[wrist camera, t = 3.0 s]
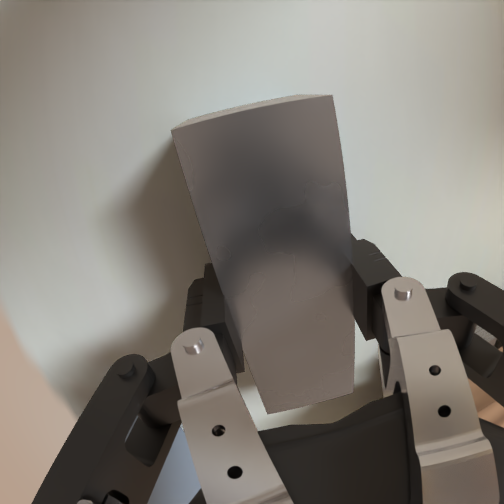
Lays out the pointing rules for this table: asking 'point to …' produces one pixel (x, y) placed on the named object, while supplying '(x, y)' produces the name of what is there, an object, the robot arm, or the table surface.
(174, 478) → the stop block
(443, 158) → the table surface
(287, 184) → the bar loose
